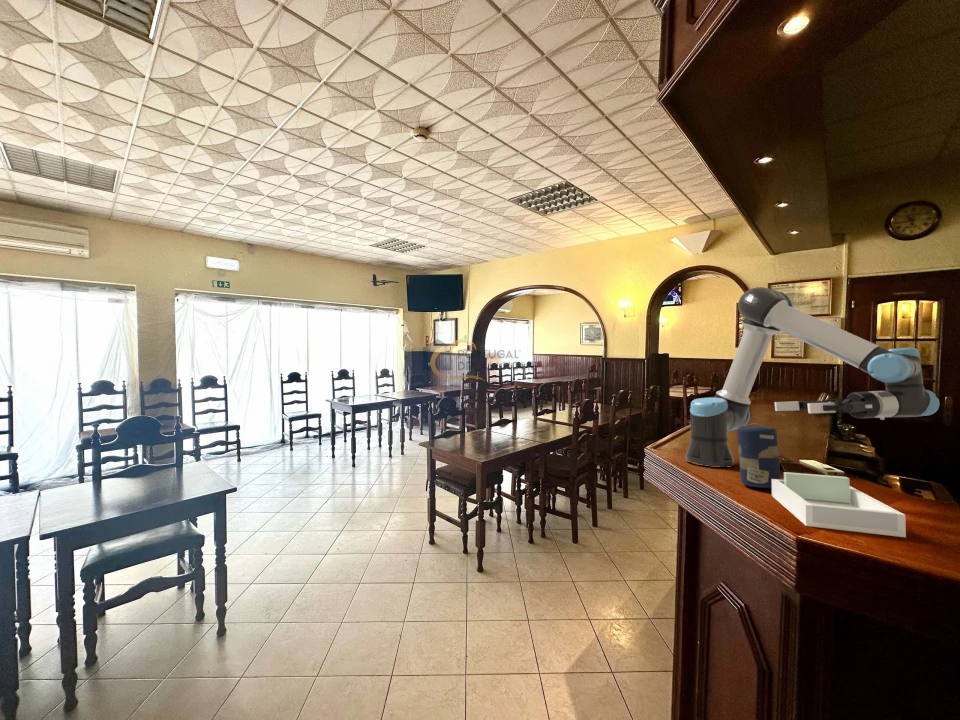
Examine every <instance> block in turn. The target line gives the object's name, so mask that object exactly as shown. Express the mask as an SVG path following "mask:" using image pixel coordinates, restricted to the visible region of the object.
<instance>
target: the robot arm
mask: <svg viewBox="0 0 960 720" xmlns="http://www.w3.org/2000/svg"><path fill="white" fill-rule="evenodd" d="M737 309H738V311H739V313H740V315H741V316H742V317H743V319H742V323H741V324H742V326H743V327H744V330H743V334H742V336H741V339H740V342H739V345H738V347H737V350H736V352H735V355H734V358H733V360H732V363H731V366H730V368H729V370H728V371H729V372H728V373H727V376H726V379H725V381H724V384H723V387H722V389H720V390H717V391H715V394H714V397H701V398H695V399H693V400H692V401H691V402H690V408H689V413H690V443H689V444H688V445H689V446H688V448H687V450H686V452H685V460H686V459H687V460H689V461H691V462H695V463H698V464H703V465H709V466H720V467H727V466H733V465H734V466H735V459H734V456H733V453H732V451H731V448H730V446H729V440H728V439H729V437H728V436H729V434H728V433H729V432H733V431H734V432H735V431H737V429H738V427H741V426H747V424H748V423H749V421H750V418H751V412H750V410H749V409H750V406H751V403H752V402H751V399H750V398H749V395H750V393H751V391H752V388H753V386H754V383H755V381H756V378H757V375H758V373H759V371H760V369H761V368H760V367H761V366H762V363H763V361H764V358H765V355H766V353H767V350H768V347H769V346H770V343H771V340H772V339H773V338H772V337H773V336H774V335H776V334H778V333H780V332H784V333H786V334H787V335H790V336H791V337H793V338H795V339H798V340H799V341H802V342H803V343H806V344H808V345H810V346H811V347H814V348H816V349H818V350H820V351H821V352H824V353H826V354H828V355H830V356H832V357H835V358H837V359H839V360H840V361H842V362H845V364H848V365H850V366H853V367H855V368H857V369H859V370H861V371H862V372H864V373H866V374H868V375H870V376H871V377H872V378H873V379H875V380H877V381H880V382H881V383H884V387H885V390H872V391H871V390H870V391H853V392H850V393H849V394H848V395H847V396H846V398H835V399H825V400H805V401H804V400H803V401H800V400H798V401H797V400H794V401H774V410H775V412H789V411H790V412H793V411H796V413H799V412H800V410H802V411H803V410H805V411H807V412H808V414H834V413H835V414H836V413H840V414H841V413H846V414H849V415H851V416H852V417H853V418H855V419H873V418H874V419H875V418H876V419H878V418H879V419H880V420H882V421H884V420H886V419H885V418H917V417H924V416H927V417H928V416H931V415H933V414H935V413H936V412H937V411H938V410H939V408H940V399H939V398H938V397H937V395H936V393H934V392H933V391H931V390H929V389H925V386H924V379H923V372H922V371H923V370H922V362H921V361H922V359H921V357H920V353H919V350H918V349H917V348H915V347H902V348H901V347H899V348H890V349H887V348H885V347H881V346H880V345H878V344H876V343H874V342H872V341H869V340H866V339H864V338H862V337H860V336H857V335H855V334H853V333H851V332H849V331H846V330H845V329H841V328H839V327H837V326H836V325H833V324H830V323H828V322H827V321H825V320H822V319H819V318H817V317H815V316H812V315H810V314H809V313H806V312H804V311H801V310H799V309H798V308H795V307H794V303H793V301H792V299H791V297H790V296H789V295H787V294H785V293H784V292H783V291H780V290H774V289H771V288H768V287H764V286H763V287H762V286H759V287H758V286H756V287H752V288H750V289H748V290H746V291H744V293H743V294H742V295H741V296H740V297H739V299H738V303H737Z"/></svg>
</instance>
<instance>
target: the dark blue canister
mask: <svg viewBox="0 0 960 720" xmlns="http://www.w3.org/2000/svg"><path fill="white" fill-rule="evenodd" d="M755 425H756V426H755ZM777 432H778V431H777V429H776V428H774V427H773V426H772V427H771V426H764V425H762V424H761V423H756V422H755V423H750V424H748V425H745V426H741V427H738V429H737V430H736V434H737V448H738V449H737V450H738V451H737V452H738V458H739V459H738V461H739V472H740V473H739V474H740V482H741V483H742V484H744V485H745V486H747V487H752V488H760V489H772V479H779V480H781V471H780V470H781V468H780V467H781V465H780V455H779V449H780V448H779V444H778V433H777Z"/></svg>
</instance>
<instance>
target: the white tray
mask: <svg viewBox="0 0 960 720" xmlns="http://www.w3.org/2000/svg"><path fill="white" fill-rule="evenodd" d="M771 497H773V499H775V501H777V502H778V503H780V505H782V506H783V507H784V508H785V509H787V511H789V512H790V513H791V514H792V515H793V516H794V517H795V518H796V519H798V520H799V521H800V522H801V523H802V524H803V525H804V526H806V527H813V528H821V529H830V530H831V529H832V530H837V531H838V530H839V531H847V532H857V533H864V534H872V535H883V536H892V537H898V538H899V537H900V538H907V529H906V528H907V526H906V524H907V523H906V522H907V521H906V514H904V513H902V512H900V511H899V510H897V509H894V508H893V507H891V506H889V505H887V504H885V503H883V502H882V501H880V500H877V499H875V498H874V497H872V496H870V495H868V494H866V493H864V492H863V491H860V490H858V489H856V488H855V487H852V486H851V485H850V503H842V502H831V501H821V500H811V499H803V498H802V497H800V496H799V495H797V494H796V493H795V492H793V491H792V490H791V489H789V488H788V487H787V486H785V485H784V479H780V480H779V479H772V488H771Z"/></svg>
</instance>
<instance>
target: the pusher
mask: <svg viewBox="0 0 960 720" xmlns="http://www.w3.org/2000/svg"><path fill="white" fill-rule="evenodd" d="M783 480H784V485H785V486H787V487H788V488H789V489H791V490H792V491H793V492H795V493H796V494H797V495H799V496H800V497H802V498H803V499H811V500H821V501H831V502H842V503H850V486H851V484H850V478H849V477H847V476H841V475H840V476H838V475H827V474H812V473H800V472H789V471H786V472H785V471H784V472H783Z"/></svg>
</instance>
